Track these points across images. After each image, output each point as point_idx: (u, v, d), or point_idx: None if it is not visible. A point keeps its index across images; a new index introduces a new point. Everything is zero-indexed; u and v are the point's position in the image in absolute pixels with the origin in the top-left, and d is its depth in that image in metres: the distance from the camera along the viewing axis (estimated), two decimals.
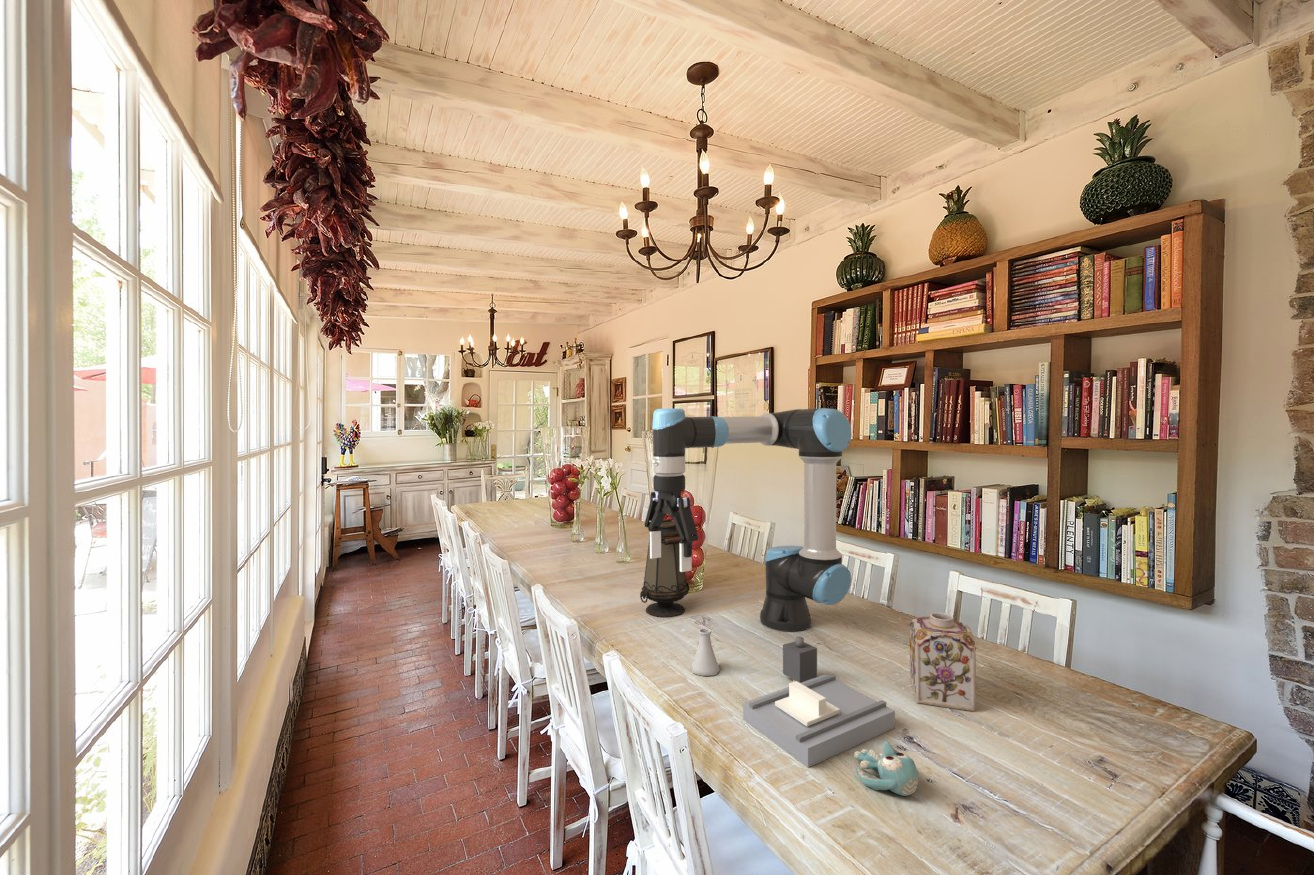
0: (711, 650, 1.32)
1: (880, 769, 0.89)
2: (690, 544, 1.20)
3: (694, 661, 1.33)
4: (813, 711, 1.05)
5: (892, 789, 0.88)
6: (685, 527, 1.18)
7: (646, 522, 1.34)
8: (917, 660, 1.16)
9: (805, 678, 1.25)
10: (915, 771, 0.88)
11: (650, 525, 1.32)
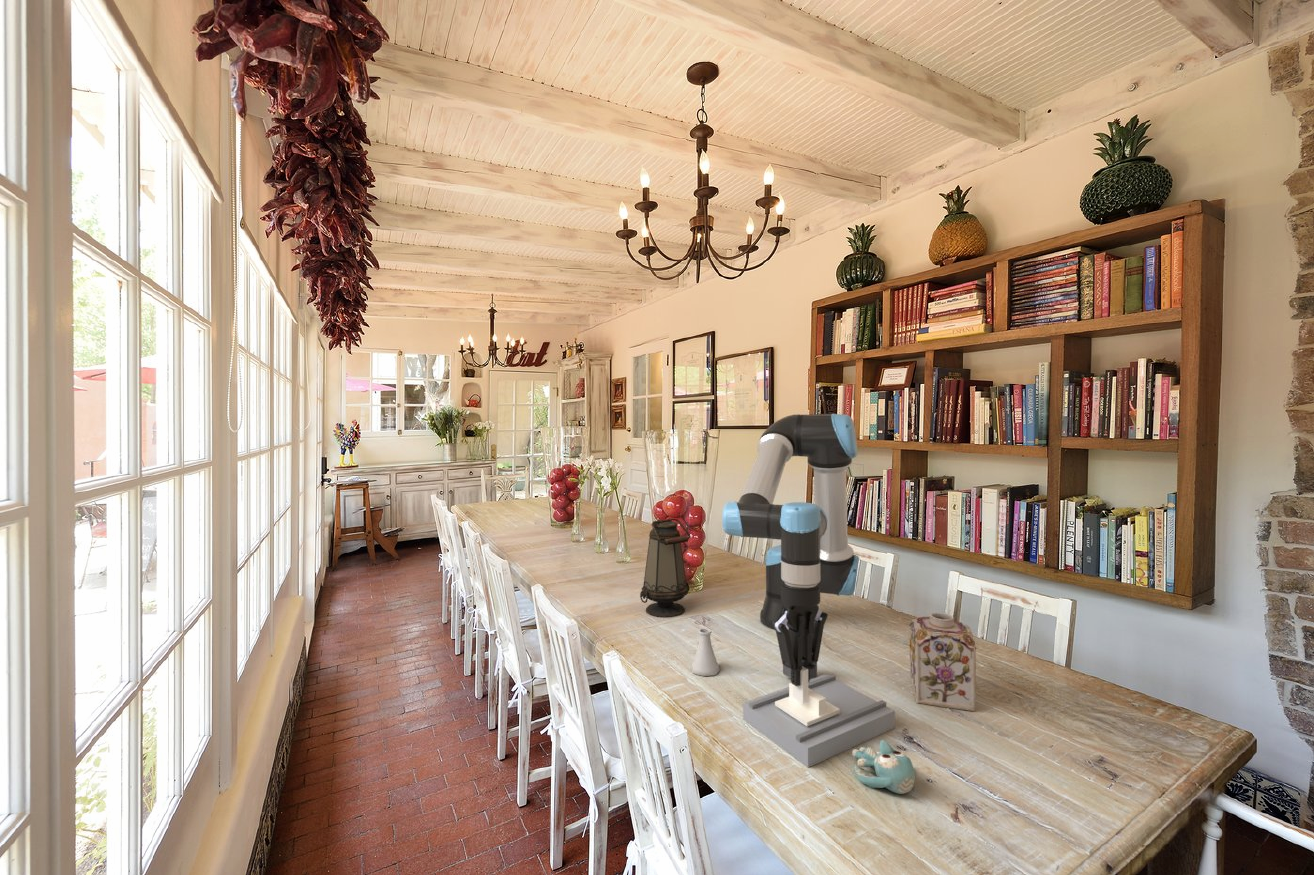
0: (711, 650, 1.32)
1: (876, 767, 0.90)
2: (794, 671, 1.06)
3: (694, 661, 1.33)
4: (813, 711, 1.05)
5: (888, 787, 0.88)
6: None
7: None
8: (917, 660, 1.16)
9: None
10: (911, 769, 0.88)
11: None
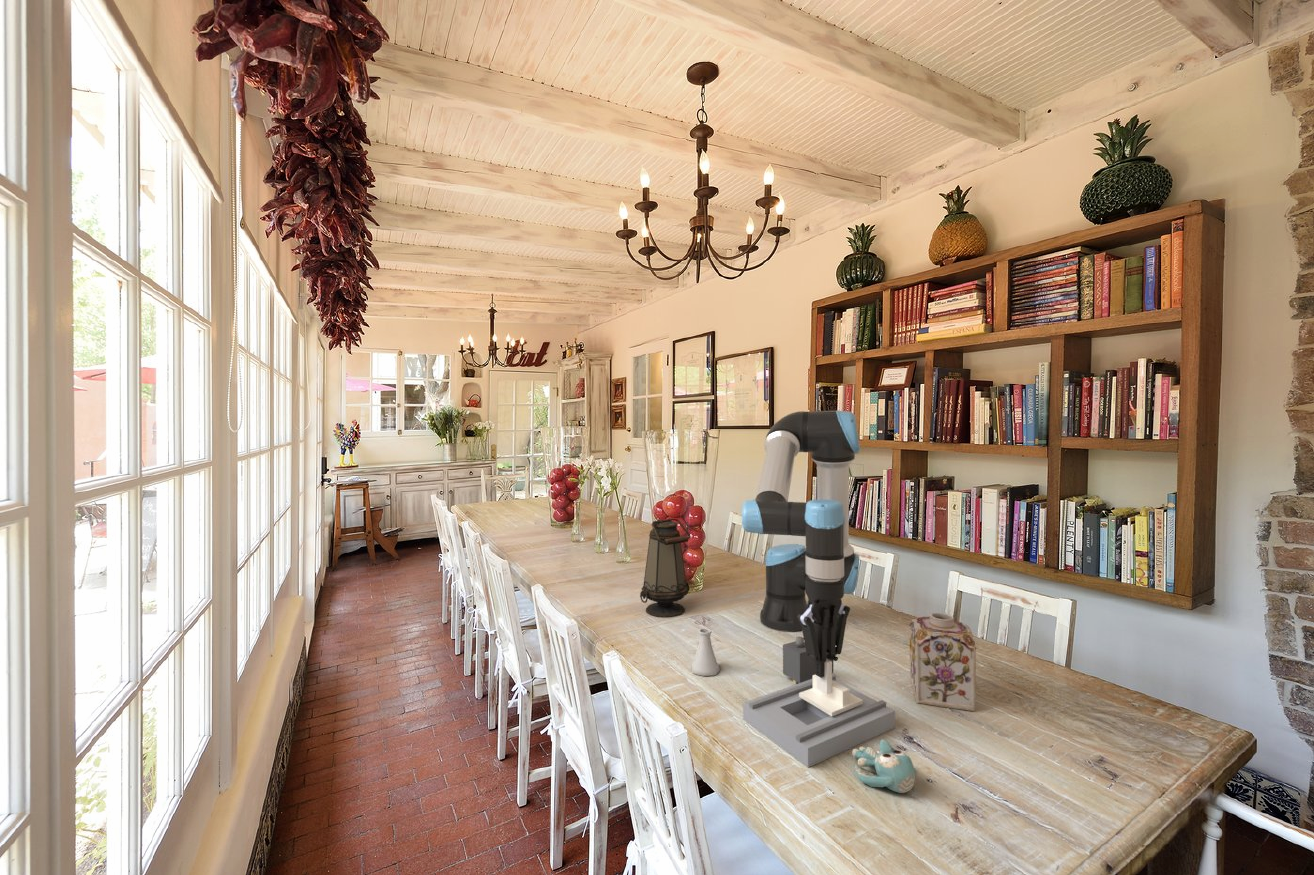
0: (711, 650, 1.32)
1: (877, 766, 0.90)
2: (818, 663, 1.09)
3: (694, 661, 1.33)
4: (837, 702, 1.08)
5: (889, 786, 0.89)
6: None
7: None
8: (917, 660, 1.16)
9: (805, 678, 1.25)
10: (912, 769, 0.89)
11: None
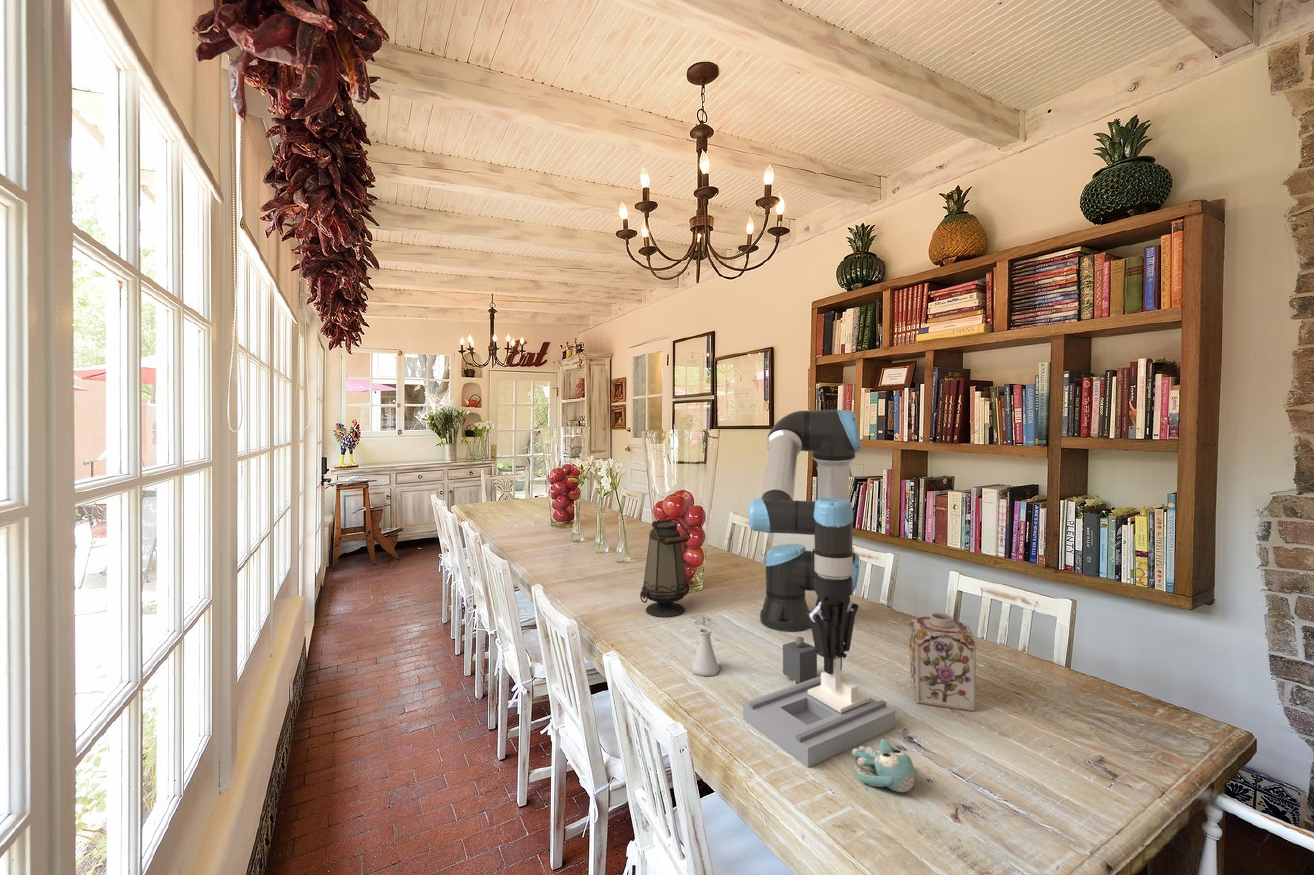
0: (711, 650, 1.32)
1: (877, 766, 0.90)
2: (827, 660, 1.10)
3: (694, 661, 1.33)
4: (845, 698, 1.10)
5: (889, 786, 0.89)
6: None
7: None
8: (917, 660, 1.16)
9: (805, 678, 1.25)
10: (912, 768, 0.89)
11: None
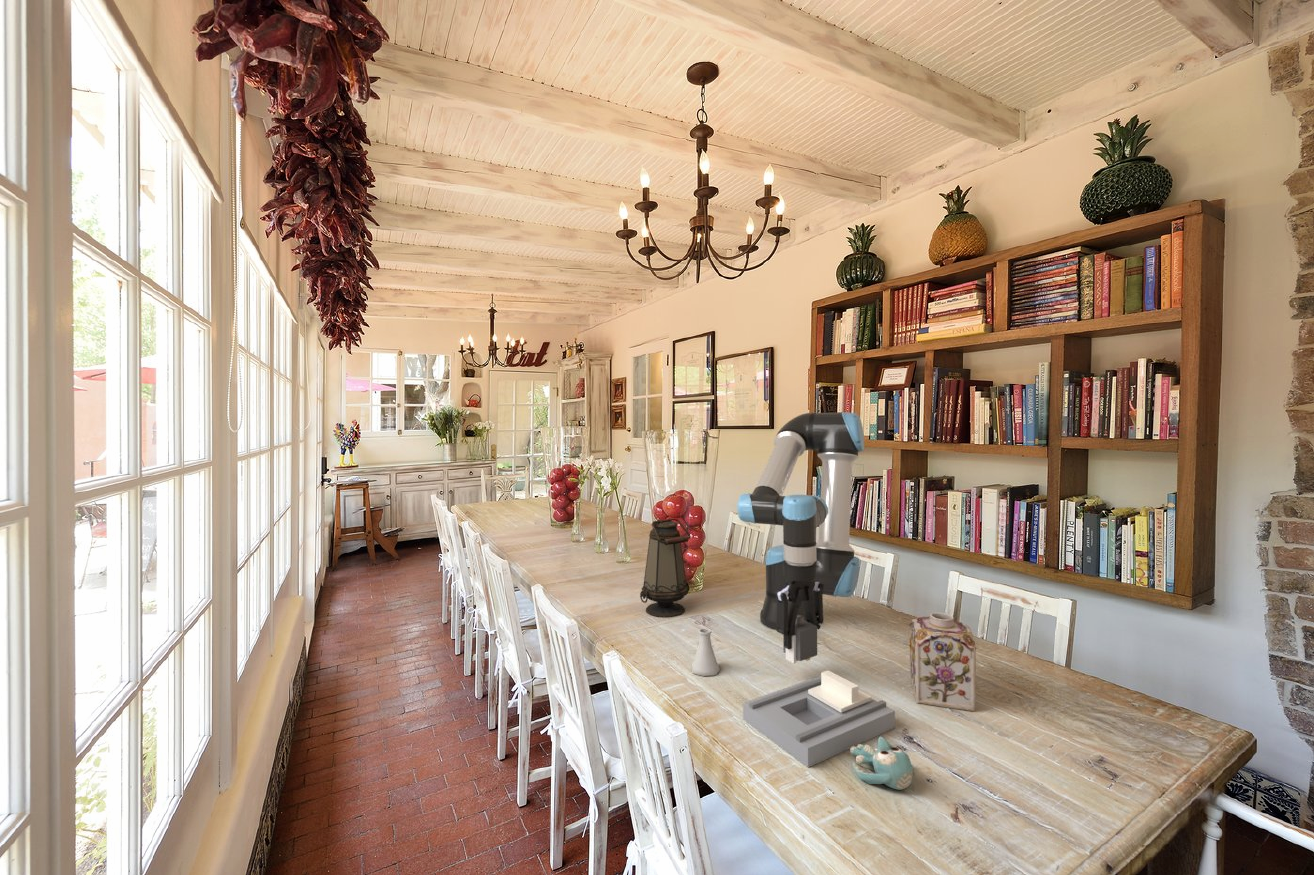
0: (711, 650, 1.32)
1: (875, 763, 0.91)
2: (786, 637, 1.25)
3: (694, 661, 1.33)
4: (846, 698, 1.10)
5: (887, 783, 0.89)
6: None
7: None
8: (917, 660, 1.16)
9: (806, 655, 1.25)
10: (909, 765, 0.89)
11: None
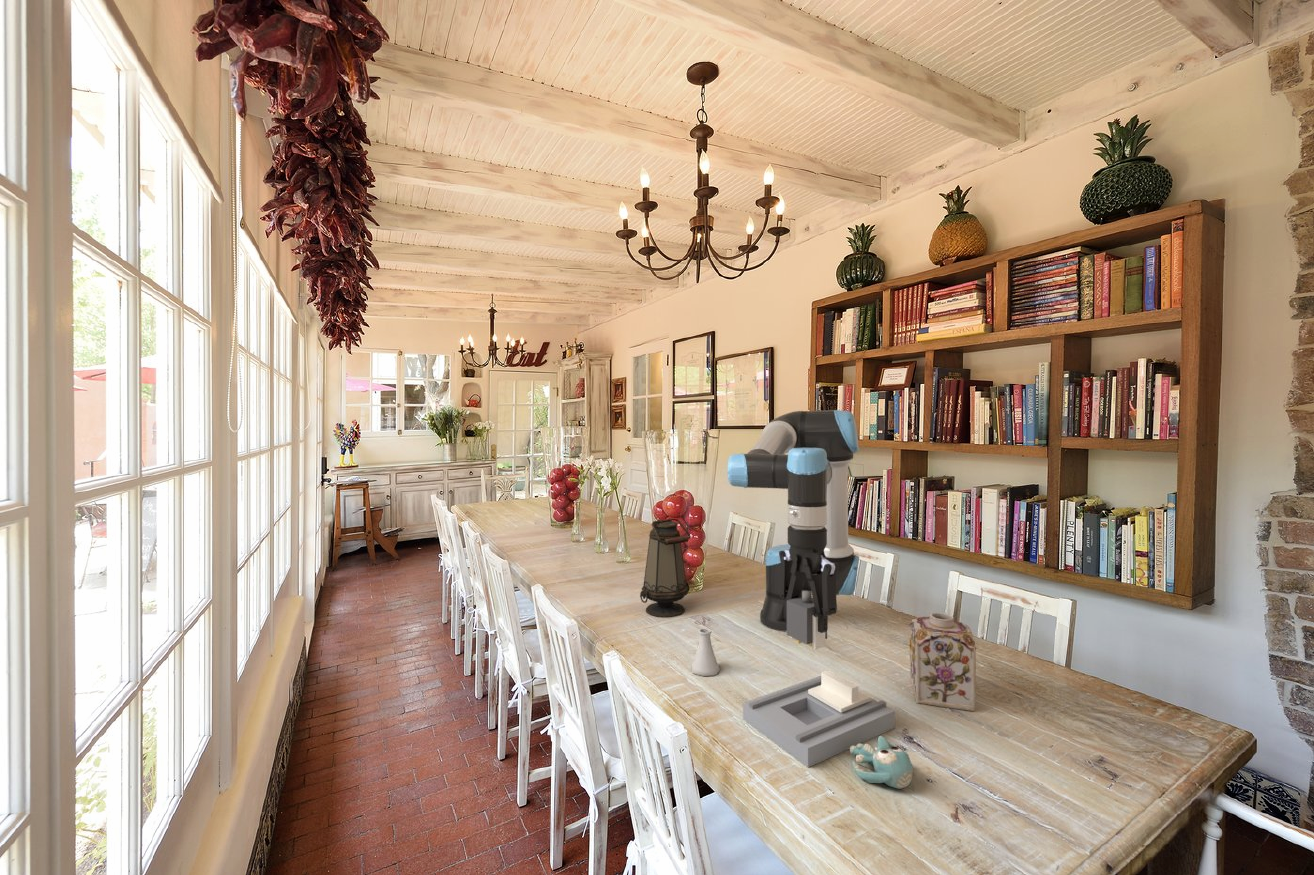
0: (711, 650, 1.32)
1: (875, 763, 0.91)
2: (826, 617, 1.03)
3: (694, 661, 1.33)
4: (846, 698, 1.10)
5: (887, 782, 0.90)
6: (826, 599, 1.01)
7: (782, 592, 1.11)
8: (917, 660, 1.16)
9: None
10: (909, 764, 0.90)
11: (788, 596, 1.10)
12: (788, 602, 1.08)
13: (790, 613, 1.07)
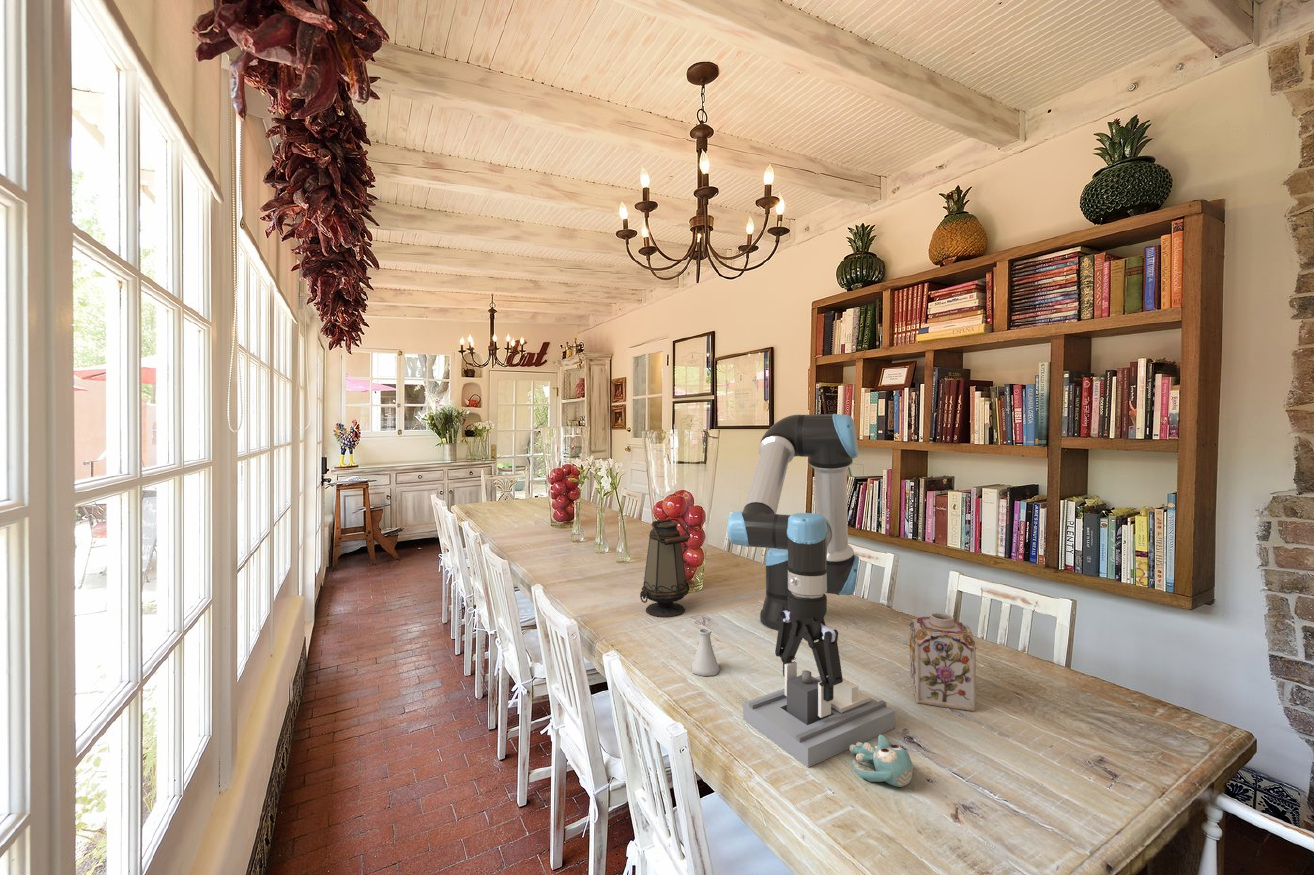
0: (711, 650, 1.32)
1: (876, 761, 0.91)
2: (832, 686, 1.02)
3: (694, 661, 1.33)
4: (846, 698, 1.10)
5: (888, 780, 0.90)
6: (830, 668, 1.01)
7: (777, 650, 1.13)
8: (917, 660, 1.16)
9: None
10: (910, 762, 0.90)
11: (784, 655, 1.11)
12: (788, 682, 1.08)
13: (790, 693, 1.08)
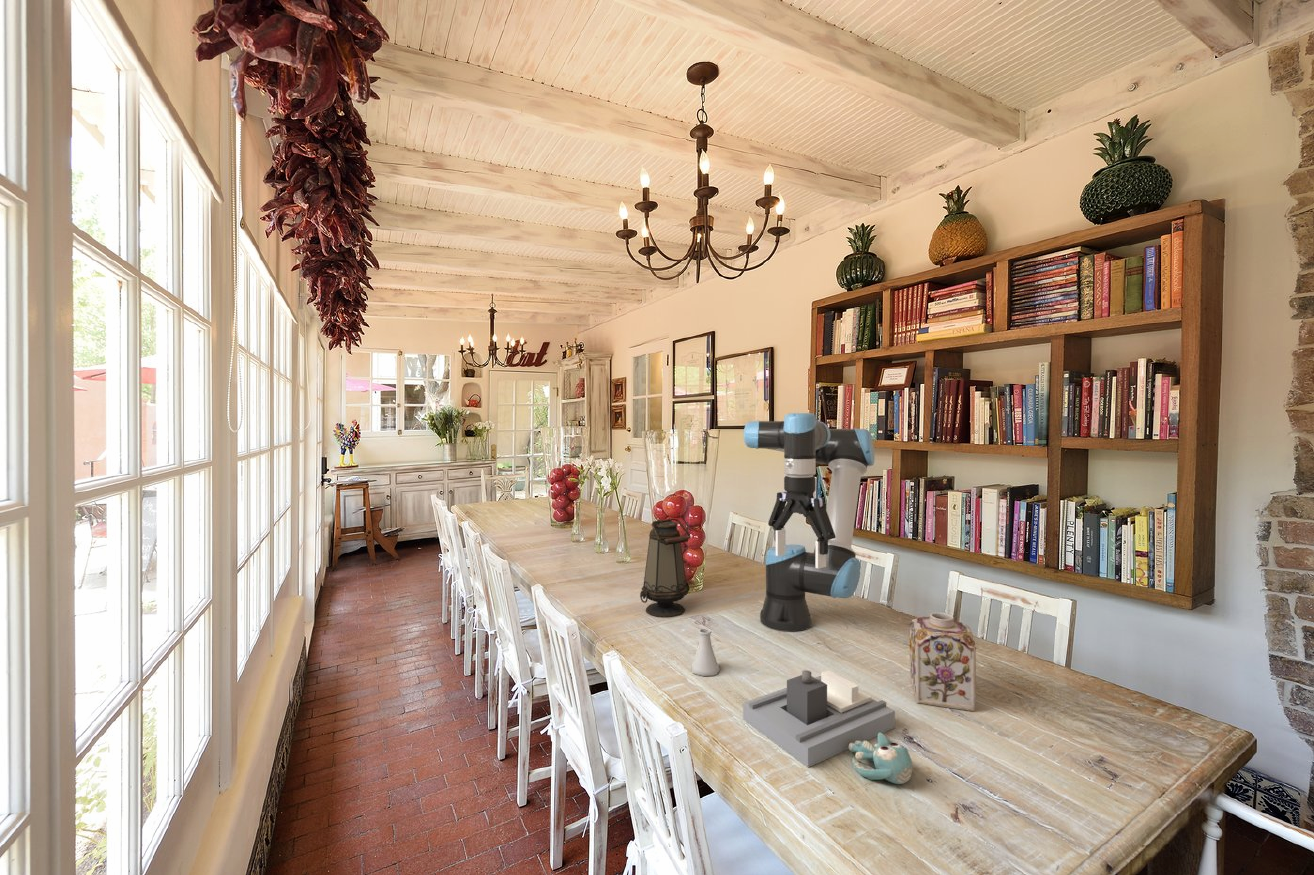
0: (711, 650, 1.32)
1: (876, 759, 0.92)
2: (826, 542, 1.26)
3: (694, 661, 1.33)
4: (846, 698, 1.10)
5: (888, 778, 0.91)
6: (823, 526, 1.25)
7: (770, 521, 1.40)
8: (917, 660, 1.16)
9: None
10: (909, 760, 0.91)
11: (776, 524, 1.39)
12: (788, 682, 1.08)
13: (790, 693, 1.08)
